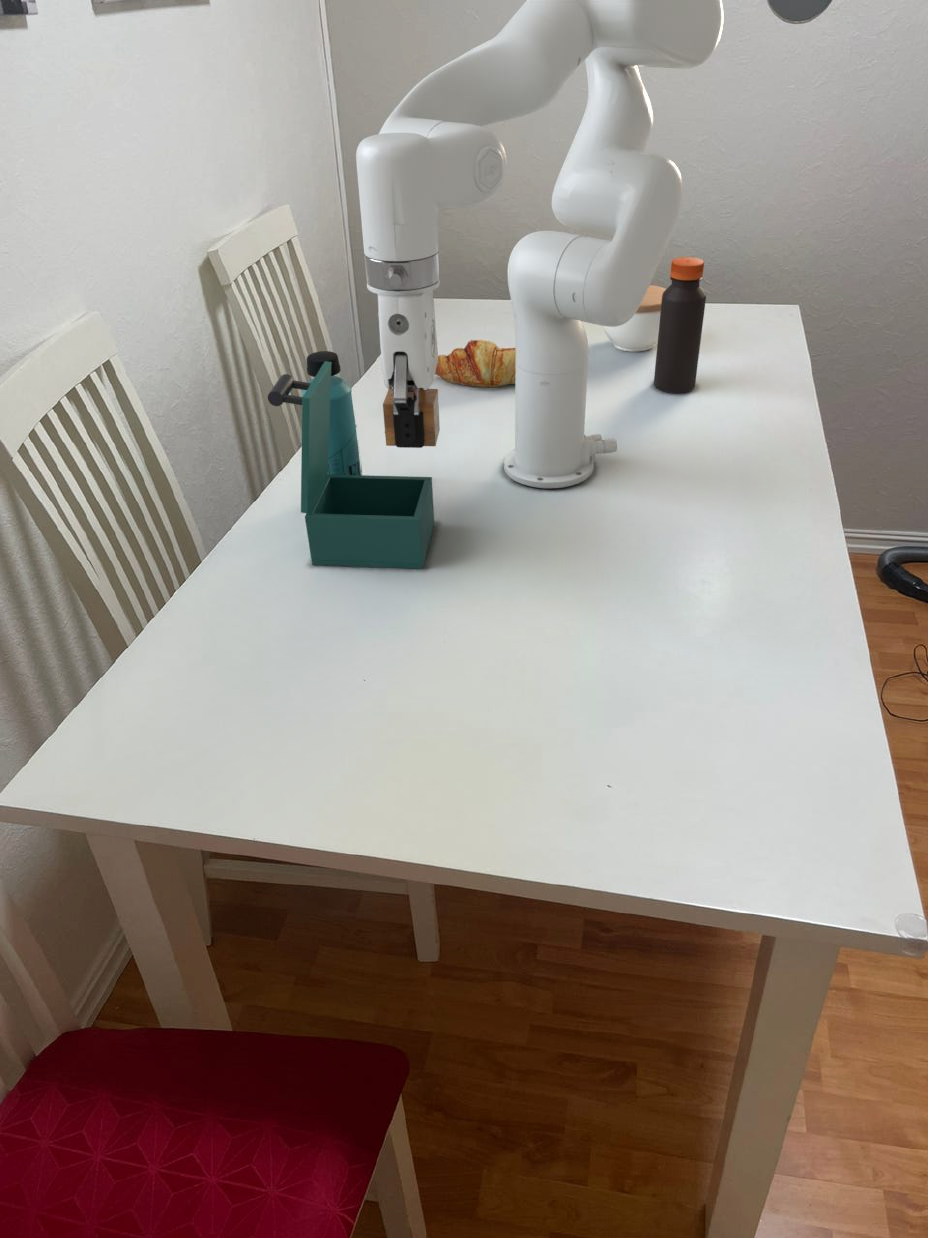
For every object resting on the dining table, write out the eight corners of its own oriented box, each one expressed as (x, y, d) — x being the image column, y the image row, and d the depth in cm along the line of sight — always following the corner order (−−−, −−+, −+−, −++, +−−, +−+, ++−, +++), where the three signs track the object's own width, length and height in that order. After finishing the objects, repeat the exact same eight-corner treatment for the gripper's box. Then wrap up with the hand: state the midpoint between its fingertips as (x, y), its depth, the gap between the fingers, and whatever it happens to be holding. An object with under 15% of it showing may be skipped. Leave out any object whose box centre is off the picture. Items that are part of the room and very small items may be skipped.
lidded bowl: (592, 335, 172) (595, 275, 166) (657, 330, 173) (663, 270, 167) (607, 359, 162) (611, 296, 156) (677, 354, 163) (684, 291, 156)
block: (439, 429, 106) (438, 388, 103) (435, 446, 102) (433, 404, 99) (391, 429, 106) (388, 388, 103) (386, 445, 103) (382, 403, 100)
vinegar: (645, 387, 152) (656, 262, 140) (666, 375, 156) (679, 252, 144) (681, 397, 148) (696, 270, 136) (702, 384, 152) (718, 259, 140)
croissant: (548, 393, 159) (551, 346, 158) (547, 387, 149) (550, 336, 148) (428, 388, 161) (430, 341, 160) (419, 382, 152) (421, 332, 150)
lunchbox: (434, 523, 118) (431, 476, 114) (422, 569, 110) (419, 519, 106) (331, 520, 119) (325, 474, 115) (312, 565, 111) (304, 516, 107)
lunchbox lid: (331, 361, 106) (285, 354, 107) (309, 398, 98) (260, 390, 98) (328, 471, 115) (285, 464, 115) (307, 513, 107) (261, 506, 107)
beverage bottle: (357, 511, 121) (340, 365, 109) (309, 508, 122) (287, 363, 110) (370, 488, 126) (356, 346, 114) (325, 485, 127) (305, 344, 116)
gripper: (429, 296, 86) (437, 471, 97) (447, 248, 100) (452, 406, 110) (351, 296, 87) (368, 470, 98) (379, 248, 100) (391, 406, 111)
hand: (413, 434), depth 104 cm, fingers closed on block, 4 cm apart
